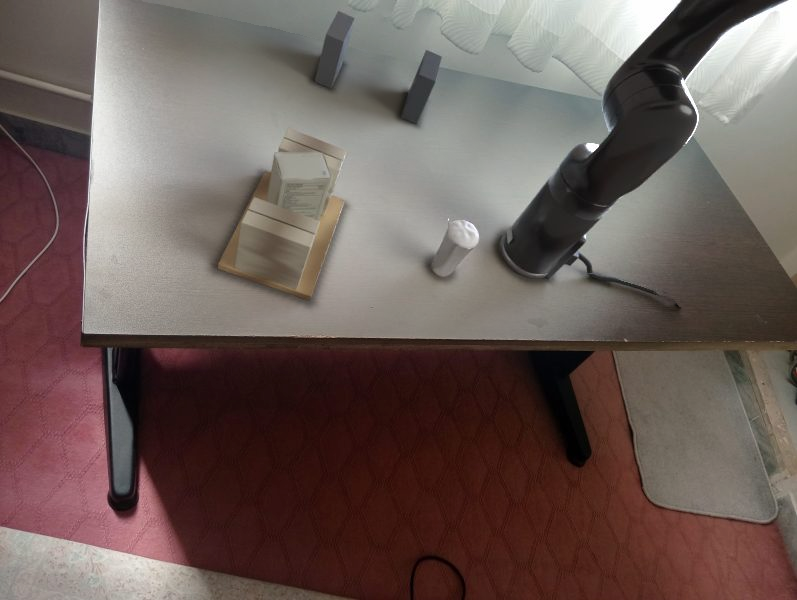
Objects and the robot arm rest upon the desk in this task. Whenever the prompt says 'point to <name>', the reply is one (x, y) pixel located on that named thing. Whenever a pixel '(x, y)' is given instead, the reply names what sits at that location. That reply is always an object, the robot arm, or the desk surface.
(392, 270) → the desk surface
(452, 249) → the milkshake
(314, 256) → the wooden holder
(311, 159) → the cosmetic box
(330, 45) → the grey bookends
